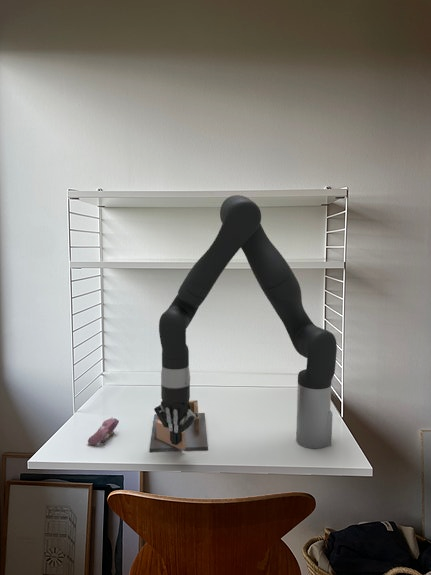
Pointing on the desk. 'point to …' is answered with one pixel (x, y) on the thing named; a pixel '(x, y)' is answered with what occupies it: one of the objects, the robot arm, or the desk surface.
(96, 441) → the mauve rounded lump
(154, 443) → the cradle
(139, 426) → the desk surface
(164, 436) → the gate
